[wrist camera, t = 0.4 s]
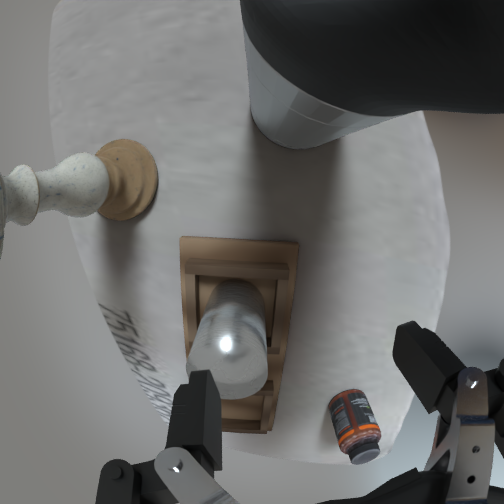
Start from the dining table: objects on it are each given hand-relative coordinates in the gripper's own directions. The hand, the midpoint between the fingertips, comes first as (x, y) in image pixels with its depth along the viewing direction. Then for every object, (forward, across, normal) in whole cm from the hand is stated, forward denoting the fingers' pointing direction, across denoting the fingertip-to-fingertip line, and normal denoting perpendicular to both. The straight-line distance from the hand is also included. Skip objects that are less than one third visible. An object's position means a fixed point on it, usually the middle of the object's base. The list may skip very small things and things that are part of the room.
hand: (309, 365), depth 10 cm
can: (+18, +4, +7) cm, 19 cm away
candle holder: (+21, +14, -9) cm, 26 cm away
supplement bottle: (+16, -9, +27) cm, 33 cm away
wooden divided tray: (+18, +6, +15) cm, 24 cm away
